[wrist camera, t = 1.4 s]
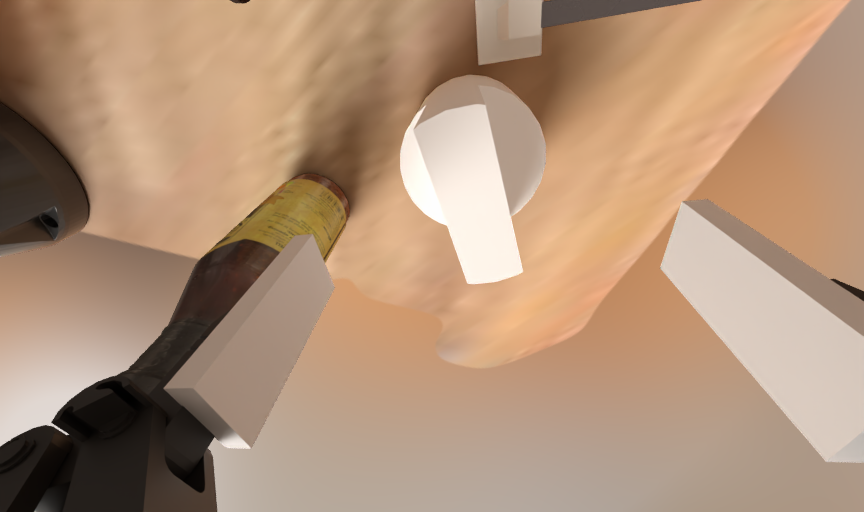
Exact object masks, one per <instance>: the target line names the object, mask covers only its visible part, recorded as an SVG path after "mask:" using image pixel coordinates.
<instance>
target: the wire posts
mask: <svg viewBox="0 0 864 512" xmlns="http://www.w3.org/2000/svg"><path fill="white" fill-rule="evenodd" d="M542 2H544V0H475V12H476V31H477V50H478V65H484V64H491V63H497V62H503V61H509V60H516V59H522V58H528V57H534V56H540V55H541V48H542V28H541V11H542Z"/></svg>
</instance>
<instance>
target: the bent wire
mask: <svg viewBox="0 0 864 512" xmlns="http://www.w3.org/2000/svg"><path fill="white" fill-rule="evenodd" d="M694 1H700V0H550V1H545V2H542V11H541V28H544V27H550V26H555V25H561V24H567V23H573V22H579V21H584V20H590V19H596V18H602V17H608V16H613V15H619V14H625V13H631V12H636V11H642V10H648V9H654V8H660V7H665V6H671V5H677V4H683V3H689V2H694Z"/></svg>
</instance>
